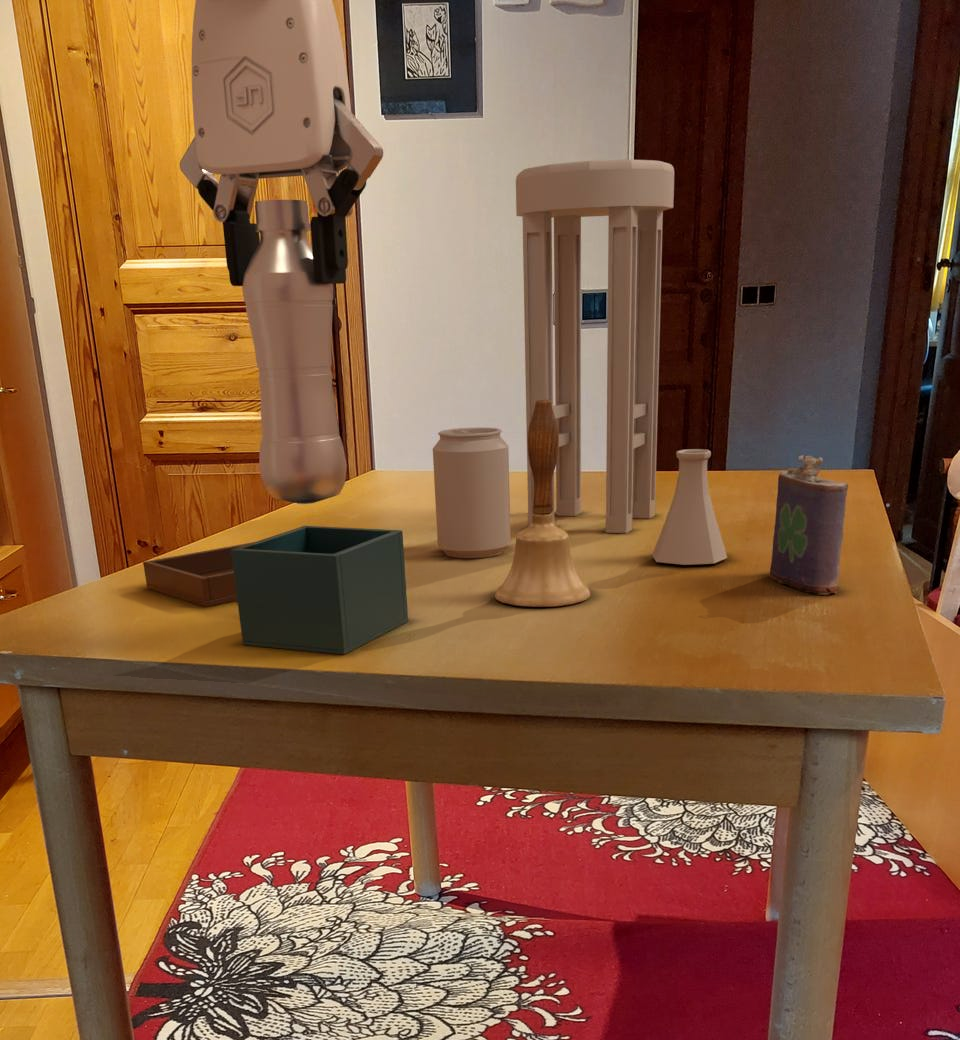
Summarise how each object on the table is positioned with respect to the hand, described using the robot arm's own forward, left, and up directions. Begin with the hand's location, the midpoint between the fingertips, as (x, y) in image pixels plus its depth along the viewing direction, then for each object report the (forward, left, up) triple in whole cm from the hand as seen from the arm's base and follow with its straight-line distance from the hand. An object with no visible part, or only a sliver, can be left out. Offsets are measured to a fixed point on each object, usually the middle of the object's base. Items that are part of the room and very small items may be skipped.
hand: (288, 282), depth 82 cm
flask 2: (+27, -32, -25) cm, 49 cm away
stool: (+51, -4, -25) cm, 57 cm away
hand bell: (+16, -12, -25) cm, 33 cm away
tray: (+14, +17, -25) cm, 33 cm away
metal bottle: (0, 0, -15) cm, 15 cm away
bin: (0, 0, -25) cm, 25 cm away
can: (+32, +2, -25) cm, 41 cm away
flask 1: (+34, -20, -25) cm, 47 cm away
